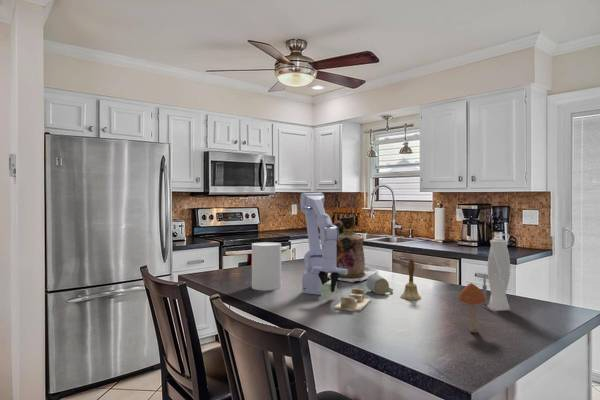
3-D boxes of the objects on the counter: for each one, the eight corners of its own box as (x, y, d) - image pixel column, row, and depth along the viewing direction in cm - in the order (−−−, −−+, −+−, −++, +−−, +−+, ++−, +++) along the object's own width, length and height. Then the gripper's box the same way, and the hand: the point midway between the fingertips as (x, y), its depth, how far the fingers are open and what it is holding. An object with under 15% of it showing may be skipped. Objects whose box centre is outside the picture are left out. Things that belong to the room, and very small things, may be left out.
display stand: (334, 308, 148) (334, 296, 148) (346, 298, 163) (346, 287, 163) (360, 311, 144) (360, 299, 144) (370, 301, 159) (370, 289, 159)
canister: (263, 292, 175) (263, 246, 174) (246, 286, 185) (246, 243, 184) (287, 287, 183) (287, 243, 183) (269, 282, 194) (269, 241, 193)
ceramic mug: (374, 296, 167) (375, 277, 167) (365, 291, 175) (366, 274, 175) (396, 294, 170) (397, 276, 170) (387, 290, 178) (387, 272, 178)
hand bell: (422, 296, 166) (422, 258, 166) (419, 301, 159) (419, 261, 159) (402, 294, 170) (402, 256, 170) (398, 298, 162) (398, 259, 162)
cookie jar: (338, 270, 224) (338, 213, 224) (378, 275, 210) (378, 215, 210) (314, 278, 204) (313, 215, 204) (357, 284, 190) (356, 217, 189)
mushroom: (453, 327, 127) (453, 280, 127) (477, 326, 128) (477, 280, 127) (466, 336, 119) (466, 286, 119) (491, 335, 120) (491, 285, 119)
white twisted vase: (500, 305, 153) (501, 232, 153) (515, 311, 145) (515, 234, 145) (480, 306, 152) (481, 233, 151) (494, 313, 144) (495, 235, 143)
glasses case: (321, 298, 153) (321, 285, 153) (331, 291, 165) (330, 279, 164) (327, 299, 152) (327, 286, 152) (336, 292, 164) (336, 279, 163)
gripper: (308, 257, 157) (308, 291, 158) (343, 259, 152) (343, 295, 152) (314, 254, 164) (314, 287, 164) (349, 257, 158) (348, 291, 158)
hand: (329, 291), depth 158 cm, fingers closed on glasses case, 2 cm apart
